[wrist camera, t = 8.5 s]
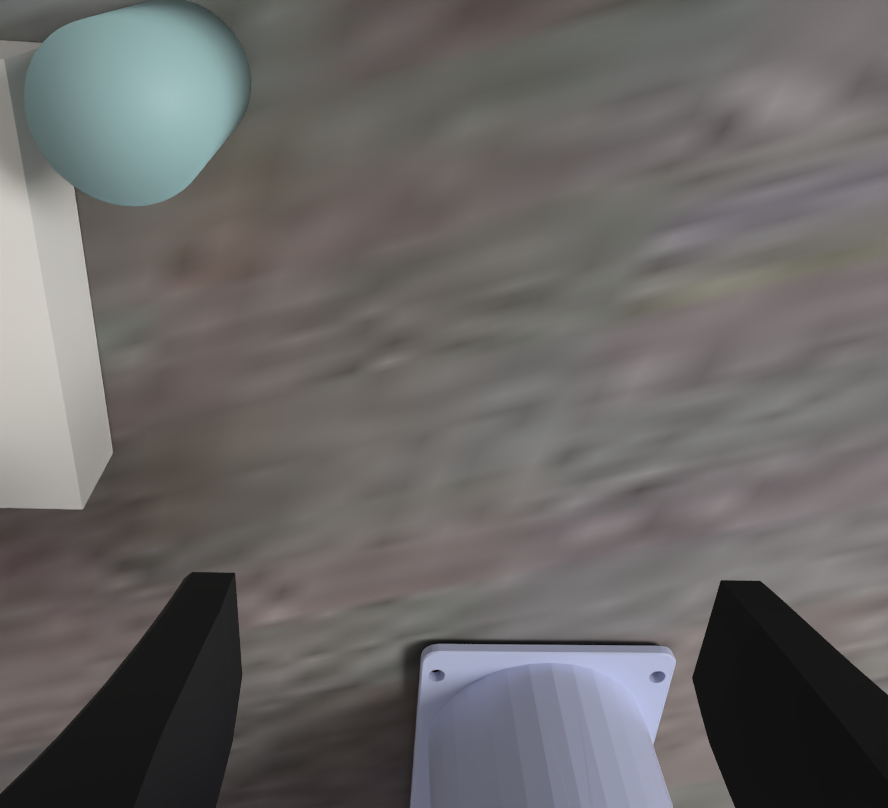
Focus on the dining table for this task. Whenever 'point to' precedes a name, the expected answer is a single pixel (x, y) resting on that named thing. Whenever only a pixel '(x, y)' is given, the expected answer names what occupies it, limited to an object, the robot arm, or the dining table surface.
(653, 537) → the dining table surface
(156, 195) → the short teal pin
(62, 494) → the collar block
